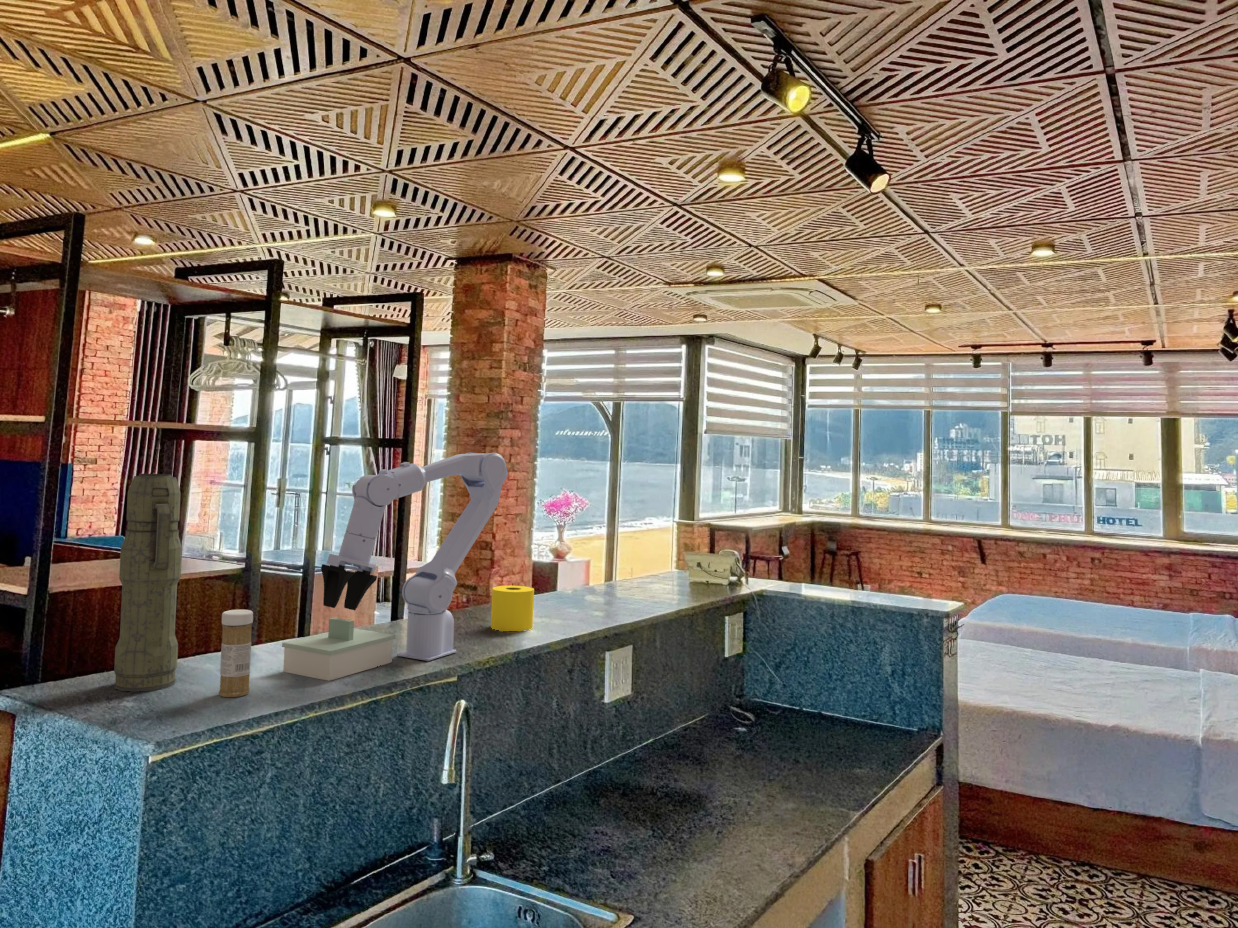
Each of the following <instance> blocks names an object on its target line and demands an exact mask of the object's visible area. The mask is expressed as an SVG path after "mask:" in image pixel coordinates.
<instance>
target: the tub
mask: <svg viewBox="0 0 1238 928" xmlns="http://www.w3.org/2000/svg"><path fill="white" fill-rule="evenodd" d="M393 640H394V639H393ZM393 640H389V641H385V642H381V643H377V644H374V645H370V646H366V647H362V648H358V649H354V650H350V651H346V652H343V653H339V654H335V655H331V656H330V655H324V654H319V653H313V652H307V651H302V650H296V649H291V648H285V647H284V650H283V651H284V654H283V673H288V674H293V675H296V676H297V675H298V676H303V677H307V678H312V679H318V680H323V681H327V682H328V681H329V682H330V681H334V680H337V679H339V678H340V679H341V678H343V677H347V676H350V675H353V674H356V673H360V672H363V671H366V670H370V669H374V668H376V667H377V666H378V667H381V666H384V665H388V664H390V663H391V664H392V660H393V643H394V642H393ZM380 665H381V666H380Z"/></svg>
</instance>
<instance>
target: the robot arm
mask: <svg viewBox="0 0 1238 928" xmlns="http://www.w3.org/2000/svg"><path fill="white" fill-rule="evenodd" d="M399 465H400V466H398V467H395V468H391V469H388V470H387V469H380V470H379V471H378V474H377V475H375V474H365V475H362V476H361V477H360V478H359V479H358V480H357V481H356V482H355V484H352V487H351V491H352V496H353V500H354V501H353V505H352V509H351V513H350V515H349V519H348V522H347V525H346V529H345V532H344V535H343V539H342V542H341V546H340V549H339V552H338V555H337V554H333V553H329V554H328V558H327V561H326V564H324V563H322V564H321V567H320V570H321V574H322V578H323V579H322V580H323V602H322V603H323V605H322V606H324V607H328V608H331V609H332V608H333V609H336V607H337V605H339V604H338V603H339V601H340V598H341V596H342V594H343V591H344V589H345V587H346V592H345V597H344V603H343V604H344V605H343V608H344V609H347V610H352V611H356V610H357V608H358V607H359V605H360V603H361V601H362V599H363V597H364V596H365V595H366V592H368V590H369V589H370V587H371V586H372V585H373V584H374V583H375V582H376V581H377V579H378V576H377V575H374V573H375V570H376V567H377V565H376V564H374V563H371V562H370V561H371V559H372V555H373V551H374V547H375V546H376V545H375V544H376V541H377V538H378V534H379V530H380V527H381V523H382V521H383V516H384V513H385V511H386V506H388V505H391V503H393V502H394V500H397V499H400V498H402V497H406V496H408V495H412V494H415V493H418V492H421V491H422V490H423V489H424V487H425V485H426V484H427V483H429V482H433V481H436V480H440V479H445V478H448V477H452V476H460V478H461V480H462V483H463V484H464V487H465V488H466V489H467V492H468V494H469V497H470V500H469V502H468V504H466V506H465V508H464V510H463V512H462V513H461V514H460V516H459V517H458V519H457V520H456V522H455V524H454V525H453V526H452V528H451V530H450V531H449V533H448V534H447V536H446V537H445V539H444V540H443V542H442V543H441V545H440V546H439V548H438V550H437V551H436V553H435V554H434V556H433V557H432V558H431V560H430V561H429V562H427V563H425V564H423V565H422V566H420V567H419V568H418V570H417V571H416V572H415V573H414V574H413V575H412V576H411V577H409V578H408V579H406V580H405V582H404V584H403V586H402V589H401V595H402V598H403V600H404V602H405V603H406V604H407V606H406V608H407V625H406V626H407V627H406V628H407V629H406V648H405V649H406V650H404V651H401V652H397V653H396V656H397V657H402V658H409V659H413V660H421V661H426V662H429V661H433V660H435V659H438V658H442V657H446V656H448V655H451V654H454V653H457V649H454V636H455V635H454V633H455V619H454V616H453V614H452V613H451V611H449V610H448V609H447V608H448V607H449V606H450V605H451V602H452V600H453V595H454V592H455V591H454V590H455V589H456V587H457V586H458V580H457V578H456V573H457V571H458V569H459V568H460V566H461V565H462V563H463V561H464V559H465V558H466V556H467V555H468V553H469V552H470V550H471V548H472V547H473V545H474V544H475V542H476V540H477V539H478V537H479V536H480V534H481V532H482V531H483V529H484V528H485V526H486V524H487V523H488V522H489V520H490V518H491V517H492V515H493V514H494V512H495V510H496V509H497V507H498V505H499V502H500V498H501V493H502V488H503V485H504V483H505V481H506V479H507V478H508V476H509V472H508V468H507V464H506V460H505V459H504V457H503V455H501V454H500V453H496V452H490V453H487V452H486V453H480V452H479V453H477V452H466V453H460V454H459V453H458V454H455V455H452V456H448V457H446V458H443V459H440V460H438V461H435V462H432V463H429V464H426V465H424V466H420V465H417V464H416V463H413V462H412V463H410V462H409V461H408V462H407V461H403V462H401V463H400V464H399ZM347 569H349V570H347ZM350 570H352V571H350ZM346 585H347V586H346Z"/></svg>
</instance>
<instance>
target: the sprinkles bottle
mask: <svg viewBox="0 0 1238 928" xmlns="http://www.w3.org/2000/svg"><path fill="white" fill-rule="evenodd" d="M253 622H254V612H253V611H252V610H250V609H231V610H230V609H229V610H226V611H223V612H222V614H221V626H222V635H221V645H220V647H221V651H220V668H219V669H220V670H219V672H220V673H219V675H220V681H219V692H218V694H219V696H221V697H224V698H240V697H243V696H245V695H248V694H249V693H250V676H251V675H250V673H251V658H252V657H251V656H252V655H251V654H252V627H253Z"/></svg>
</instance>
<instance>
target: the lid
mask: <svg viewBox="0 0 1238 928" xmlns="http://www.w3.org/2000/svg"><path fill="white" fill-rule="evenodd" d="M395 639H396V634H391V633H385V632H380V631H373V630H367V629H361V628H355V620H351V619H344V618H339V617H337V618H336V617H331V618H328V629H327V632H323V633H319V634H315V635H310V636H306V637H300V638H298V639H291V640H287V641H283V642H282V643H281V647H282V648H284V649H285V648H291V649H296V650H302V651H307V652H313V653H319V654H324V655H330V656H331V655H335V654H339V653H343V652H346V651H350V650H354V649H358V648H362V647H366V646H370V645H374V644H377V643H381V642H385V641H389V640H395Z"/></svg>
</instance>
